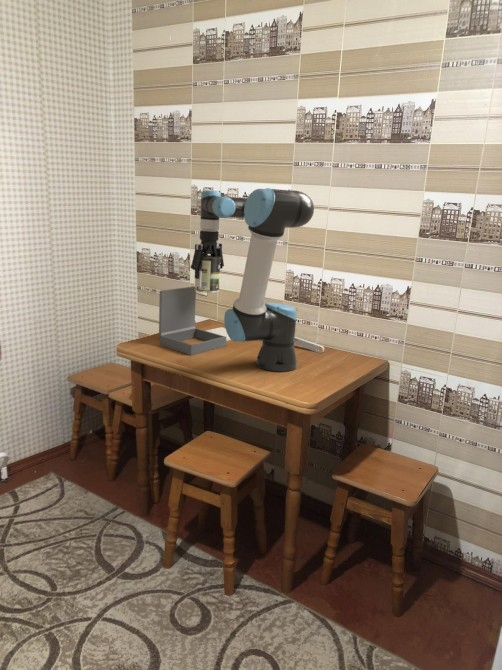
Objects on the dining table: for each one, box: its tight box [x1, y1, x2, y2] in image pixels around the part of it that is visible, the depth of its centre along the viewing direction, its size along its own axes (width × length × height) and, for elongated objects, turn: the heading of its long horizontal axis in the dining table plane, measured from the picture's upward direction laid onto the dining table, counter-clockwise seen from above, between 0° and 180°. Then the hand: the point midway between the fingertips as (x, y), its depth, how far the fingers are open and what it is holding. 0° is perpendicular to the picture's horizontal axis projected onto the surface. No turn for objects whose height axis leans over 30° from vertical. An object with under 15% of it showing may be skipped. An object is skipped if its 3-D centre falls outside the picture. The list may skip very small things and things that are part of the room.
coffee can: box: [194, 254, 221, 294], centre depth 216 cm, size 10×10×14 cm
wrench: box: [294, 336, 325, 354], centre depth 224 cm, size 8×2×30 cm
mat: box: [205, 326, 232, 342], centre depth 235 cm, size 16×16×1 cm
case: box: [158, 285, 227, 356], centre depth 214 cm, size 19×20×22 cm
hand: (207, 285), depth 218 cm, fingers closed on coffee can, 10 cm apart
